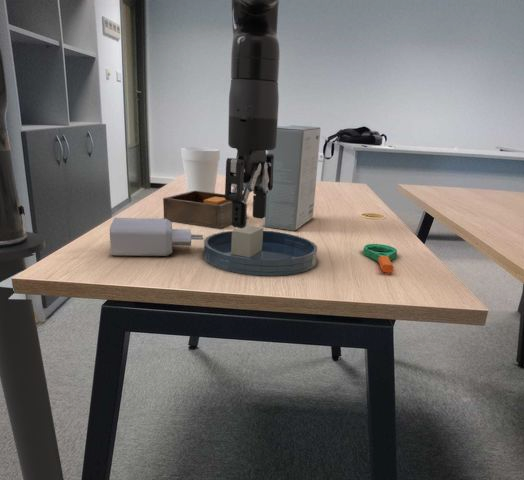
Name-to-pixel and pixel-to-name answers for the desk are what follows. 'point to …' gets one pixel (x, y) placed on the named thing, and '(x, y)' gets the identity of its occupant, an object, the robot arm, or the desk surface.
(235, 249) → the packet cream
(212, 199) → the orange block
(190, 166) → the foam cup
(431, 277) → the desk surface
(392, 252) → the magnifying glass
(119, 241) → the charger
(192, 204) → the holder
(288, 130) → the hard drive box
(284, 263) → the dark blue round tray
